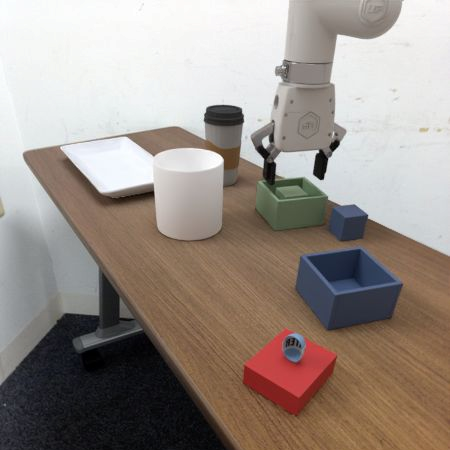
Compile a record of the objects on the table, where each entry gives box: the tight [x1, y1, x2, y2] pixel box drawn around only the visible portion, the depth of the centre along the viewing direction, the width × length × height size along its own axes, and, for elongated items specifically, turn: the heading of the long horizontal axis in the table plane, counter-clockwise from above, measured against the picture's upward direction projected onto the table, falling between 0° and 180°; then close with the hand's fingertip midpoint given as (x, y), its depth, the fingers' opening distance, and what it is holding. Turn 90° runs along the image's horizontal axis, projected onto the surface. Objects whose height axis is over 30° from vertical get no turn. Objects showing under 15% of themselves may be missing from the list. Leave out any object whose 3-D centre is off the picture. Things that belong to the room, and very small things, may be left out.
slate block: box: [327, 203, 369, 242], centre depth 74 cm, size 4×4×4 cm
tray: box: [59, 136, 155, 198], centre depth 95 cm, size 17×31×4 cm, turn 31°
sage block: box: [275, 186, 308, 200], centre depth 79 cm, size 4×4×4 cm
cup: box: [152, 147, 224, 242], centre depth 73 cm, size 12×12×12 cm
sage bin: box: [255, 176, 329, 232], centre depth 79 cm, size 10×10×6 cm
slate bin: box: [295, 246, 404, 331], centre depth 58 cm, size 10×10×6 cm
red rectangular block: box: [242, 328, 338, 417], centre depth 46 cm, size 8×7×6 cm
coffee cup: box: [203, 104, 245, 187], centre depth 90 cm, size 8×8×15 cm
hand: (294, 180), depth 77 cm, fingers open, 9 cm apart
